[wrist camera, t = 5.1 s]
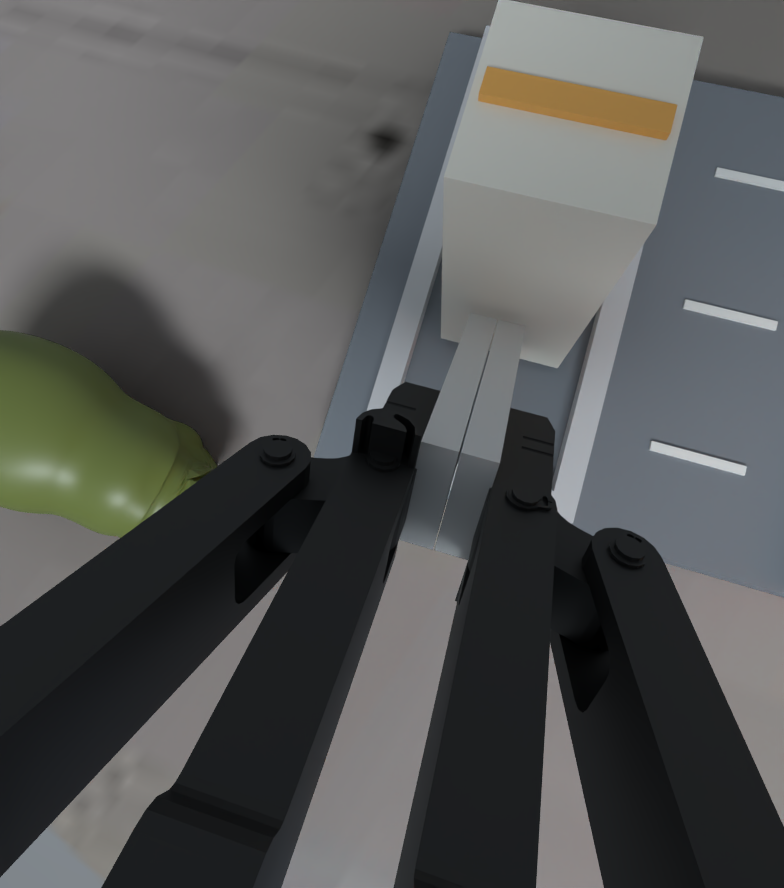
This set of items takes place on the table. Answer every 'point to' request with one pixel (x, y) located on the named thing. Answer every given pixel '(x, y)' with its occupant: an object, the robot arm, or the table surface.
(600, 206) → the fader knob
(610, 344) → the tray
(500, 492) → the robot arm
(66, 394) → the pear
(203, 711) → the table surface
